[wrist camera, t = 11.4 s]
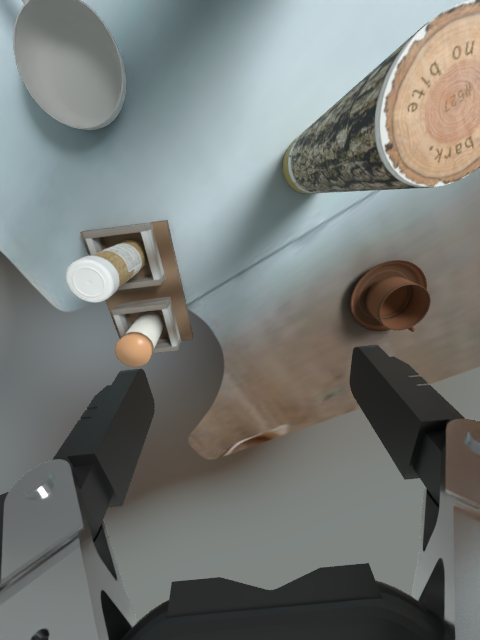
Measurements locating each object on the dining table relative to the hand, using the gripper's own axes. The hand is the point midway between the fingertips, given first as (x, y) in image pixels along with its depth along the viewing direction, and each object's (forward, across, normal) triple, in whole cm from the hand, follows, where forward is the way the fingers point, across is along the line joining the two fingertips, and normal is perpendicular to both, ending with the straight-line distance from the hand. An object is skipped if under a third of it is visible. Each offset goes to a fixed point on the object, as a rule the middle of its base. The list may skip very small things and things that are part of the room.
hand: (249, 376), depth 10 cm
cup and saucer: (+32, -24, +11) cm, 41 cm away
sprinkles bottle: (+30, +15, 0) cm, 34 cm away
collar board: (+32, +15, +6) cm, 35 cm away
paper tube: (+32, -11, -9) cm, 35 cm away
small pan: (+32, +17, -23) cm, 43 cm away
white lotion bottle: (+30, +15, +11) cm, 36 cm away
